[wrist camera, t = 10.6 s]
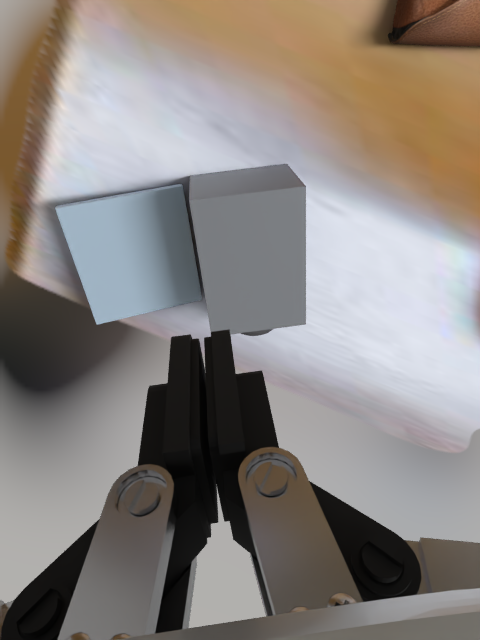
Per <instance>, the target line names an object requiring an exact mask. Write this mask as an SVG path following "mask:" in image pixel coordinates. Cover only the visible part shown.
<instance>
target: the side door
mask: <svg viewBox="0 0 480 640" xmlns="http://www.w3.org/2000/svg"><path fill="white" fill-rule="evenodd" d="M55 210H56V213H57V215H58V218H59V221H60V224H61V227H62V229H63V232H64V235H65V238H66V241H67V243H68V246H69V249H70V252H71V254H72V257H73V260H74V263H75V266H76V268H77V271H78V274H79V277H80V279H81V282H82V285H83V288H84V291H85V293H86V296H87V299H88V302H89V304H90V307H91V310H92V313H93V316H94V318H95V321H96V324H102V323H106V322H110V321H114V320H119V319H123V318H127V317H131V316H135V315H140V314H144V313H148V312H152V311H157V310H161V309H165V308H169V307H173V306H178V305H182V304H186V303H190V302H195V301H199V300H202V296H201V290H200V284H199V278H198V272H197V267H196V261H195V255H194V249H193V243H192V237H191V231H190V226H189V220H188V214H187V208H186V202H185V196H184V191H183V186H182V184H177V185H171V186H165V187H160V188H154V189H148V190H143V191H137V192H131V193H126V194H120V195H114V196H109V197H103V198H97V199H92V200H86V201H80V202H75V203H69V204H64V205H58V206H56V207H55Z"/></svg>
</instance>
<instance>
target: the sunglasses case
mask: <svg viewBox="0 0 480 640" xmlns="http://www.w3.org/2000/svg"><path fill="white" fill-rule="evenodd" d="M388 37H389V40H390V42H391V43H393V44H413V45H440V46H442V45H446V46H480V0H398V1H397V6H396V13H395V15H394V21H393V31H392V33H389V34H388Z"/></svg>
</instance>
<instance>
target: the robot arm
mask: <svg viewBox="0 0 480 640" xmlns="http://www.w3.org/2000/svg"><path fill="white" fill-rule="evenodd" d="M204 345H205V368H204V363H203V358H202V352H201V347H200V342H199V339H192V337H191V335H183V336H175V337H172V338H171V348H170V361H169V373H168V383H167V384H160V385H153V386H150V387H149V389H148V394H147V401H146V408H145V417H144V423H143V432H142V438H141V446H140V453H139V461H138V466H136V467H134V468H132V469H129V470H128V471H126V472H125V473H124V474H122V475H121V476H120V477H119V478H118V479H117V480H116V481H115V483H114V484H113V486H112V488H111V489H110V492H109V493H108V496H107V499H106V502H105V505H104V508H103V511H102V513H101V516H100V519H99V520H98V521H97V522H96V523H95V524H94V525H92V526H91V527H90V528H89V529H88V530H87V531H86V532H85V533H84V534H83V535H82V536H81V537H80V538H78V539H77V540H76V541H75V542H74V543H73V544H72V545H71V546H70V547H69V548H68V549H67V550H66V551H64V553H62V554H61V555H60V556H59V557H58V558H57V559H56V560H55V561H54V562H53V563H52V564H50V565H49V566H48V567H47V568H46V569H45V570H44V571H43V572H42V573H41V574H40V575H39V576H38V577H37V578H35V579H34V580H33V581H32V582H31V583H30V584H29V585H28V586H27V587H26V588H25V589H24V590H23V591H22V592H21V593H20V594H19V595H18V597H17V598H16V599H15V600H13V601H11V602H8V603H4V602H3V601H0V640H480V543H473V542H463V541H453V540H441V539H431V538H420V541H419V542H418V541H406V540H403V539H402V538H401V537H399V536H398V535H397V534H395V533H394V532H392V531H391V530H389V529H387V528H386V527H384V526H382V525H381V524H379V523H377V522H376V521H374V520H373V519H371V518H369V517H368V516H366V515H364V514H363V513H361V512H359V511H358V510H356V509H354V508H353V507H351V506H350V505H348V504H346V503H344V502H343V501H341V500H340V499H338V498H336V497H335V496H333V495H331V494H330V493H328V492H326V491H325V490H323V489H321V488H320V487H318V486H316V485H315V484H313V483H312V482H310V481H309V480H308V478H307V475H306V473H305V471H304V469H303V467H302V465H301V463H300V462H299V460H298V459H297V457H295V456H294V455H293V454H292V453H290V452H289V451H286V450H284V449H281V448H279V446H278V442H277V437H276V432H275V428H274V423H273V418H272V414H271V409H270V405H269V400H268V395H267V391H266V386H265V381H264V377H263V373H262V371H255V372H248V373H241V374H235V367H234V359H233V351H232V344H231V336H230V329H228V330H221V331H213V332H211V337H206V338H204ZM205 371H206V374H205ZM216 484H217V488H218V493H219V498H220V503H221V508H222V512H223V517H224V521H230V525H231V530H232V534H233V540H235V541H236V542H237V543H238V544H240V545H241V546H242V547H243V548H245V549H246V550H247V551H248V552H250V556H251V561H252V564H253V568H254V572H255V576H256V580H257V583H258V587H259V591H260V595H261V599H262V603H263V606H264V610H265V614H266V617H260V618H254V619H247V620H241V621H234V622H228V623H221V624H214V625H208V626H202V627H195V628H188V627H189V619H190V612H191V604H192V597H193V589H194V581H195V574H196V566H197V559H196V557H197V555H198V554H199V552H200V551H201V550H202V549H203V548H204V547H205V545H206V544H207V538H208V537H211V523H217V522H218V507H217V488H216Z"/></svg>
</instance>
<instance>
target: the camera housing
mask: <svg viewBox="0 0 480 640" xmlns="http://www.w3.org/2000/svg"><path fill="white" fill-rule="evenodd" d="M189 203H190V209H191V215H192V221H193V227H194V233H195V239H196V245H197V251H198V257H199V263H200V269H201V275H202V281H203V287H204V293H205V299H206V305H207V311H208V317H209V323H210V329H211V332H213V331H221V330H228V329H230V334H237V333H241V334H244V335H249V336H258V335H263V334H266V333H268V332H270V331H271V330H273V329H275V328H282V327H290V326H297V325H305V324H306V186H305V185H304V184H303V182H302V181H301V180H300V179H299V178H298V176H297V175H296V174H295V173H294V172H293V171H292V169H291V168H290V167H289V166H288V165H287V164H283V165H274V166H266V167H258V168H250V169H241V170H233V171H225V172H217V173H209V174H200V175H192V176H190V189H189Z"/></svg>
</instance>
